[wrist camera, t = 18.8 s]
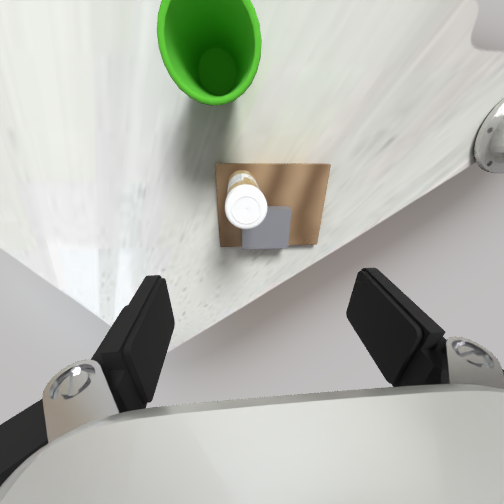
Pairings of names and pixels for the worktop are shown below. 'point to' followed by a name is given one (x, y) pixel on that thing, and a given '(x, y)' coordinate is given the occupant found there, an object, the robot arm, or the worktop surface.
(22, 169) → the worktop surface
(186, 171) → the worktop surface
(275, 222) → the tile
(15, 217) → the worktop surface
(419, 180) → the worktop surface
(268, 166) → the board
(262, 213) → the sprinkles bottle
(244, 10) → the cup
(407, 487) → the robot arm
